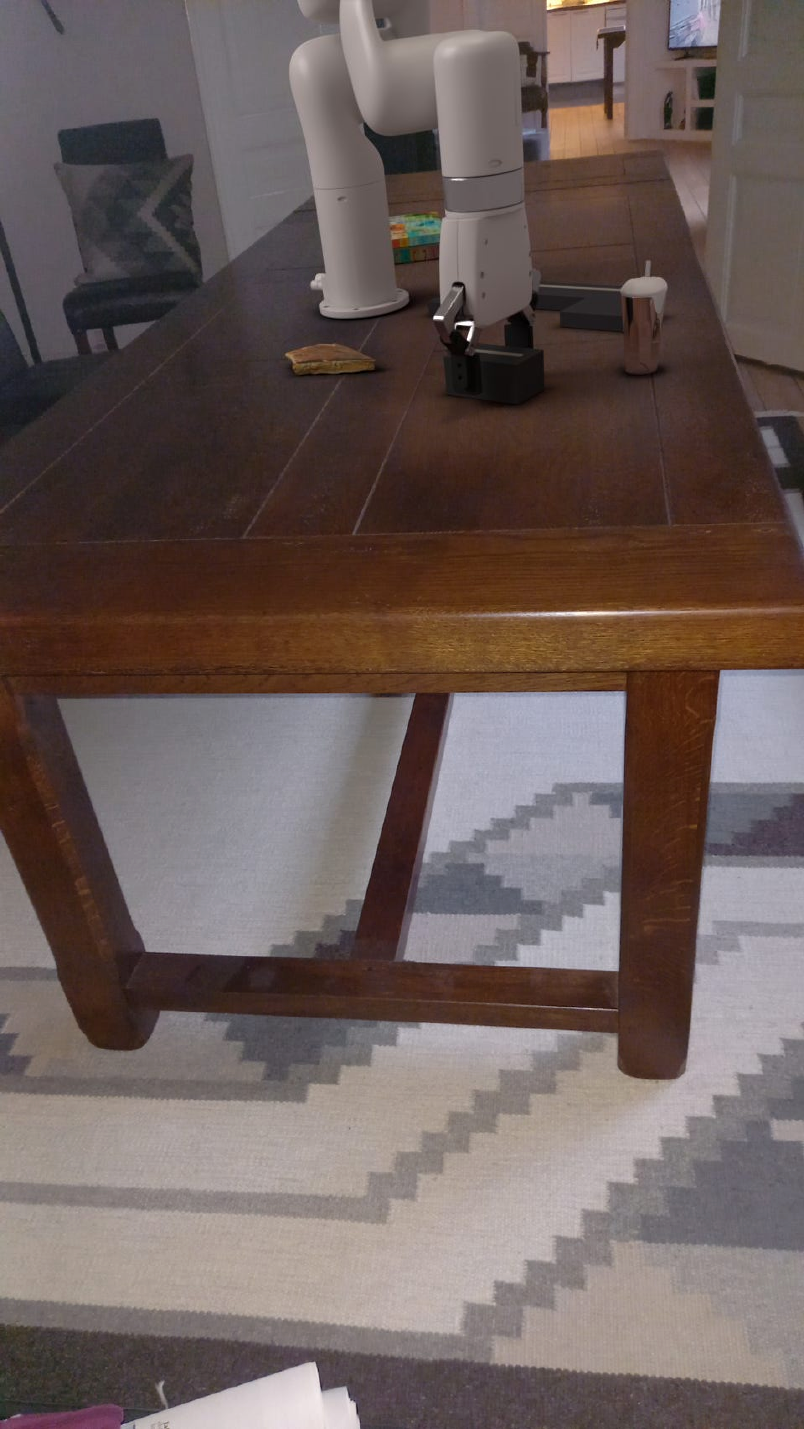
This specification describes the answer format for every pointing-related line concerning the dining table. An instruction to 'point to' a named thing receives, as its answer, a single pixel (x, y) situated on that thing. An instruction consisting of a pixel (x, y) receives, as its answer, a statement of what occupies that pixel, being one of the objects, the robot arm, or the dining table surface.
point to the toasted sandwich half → (329, 359)
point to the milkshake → (642, 321)
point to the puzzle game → (415, 236)
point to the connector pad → (504, 373)
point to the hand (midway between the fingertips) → (494, 378)
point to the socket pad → (576, 305)
